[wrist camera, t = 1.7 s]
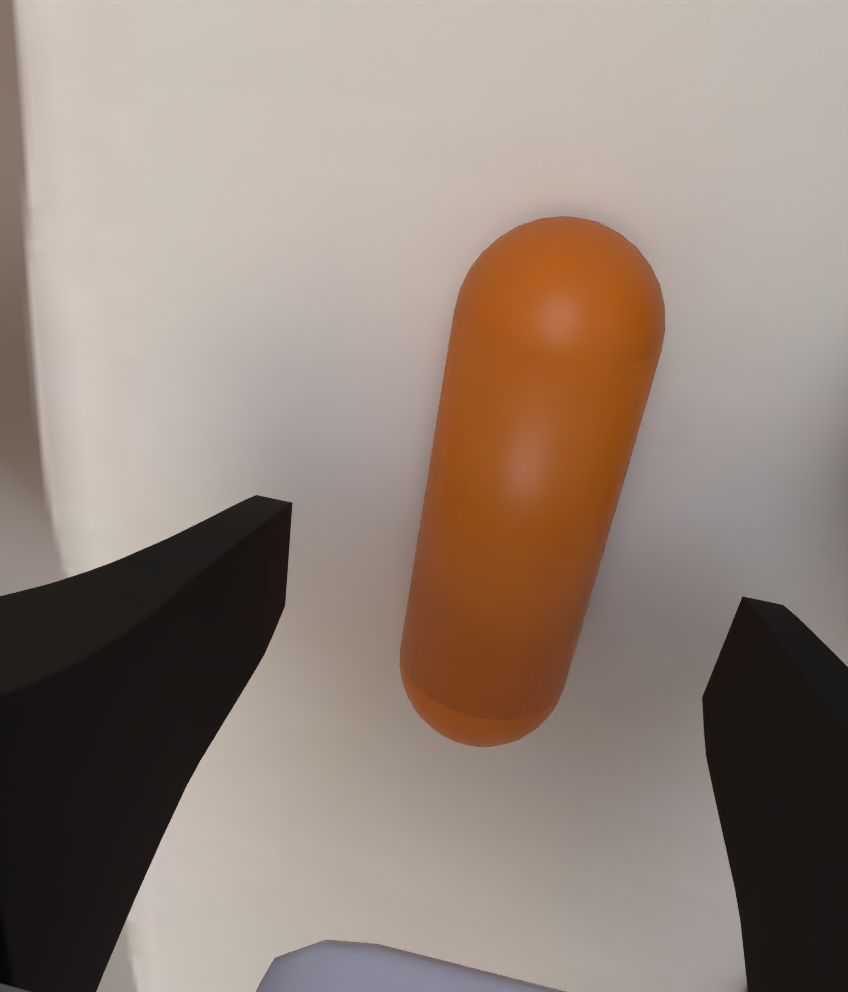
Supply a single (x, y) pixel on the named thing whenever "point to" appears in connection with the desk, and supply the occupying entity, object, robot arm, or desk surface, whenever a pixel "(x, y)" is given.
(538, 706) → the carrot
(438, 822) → the desk surface
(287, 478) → the desk surface
